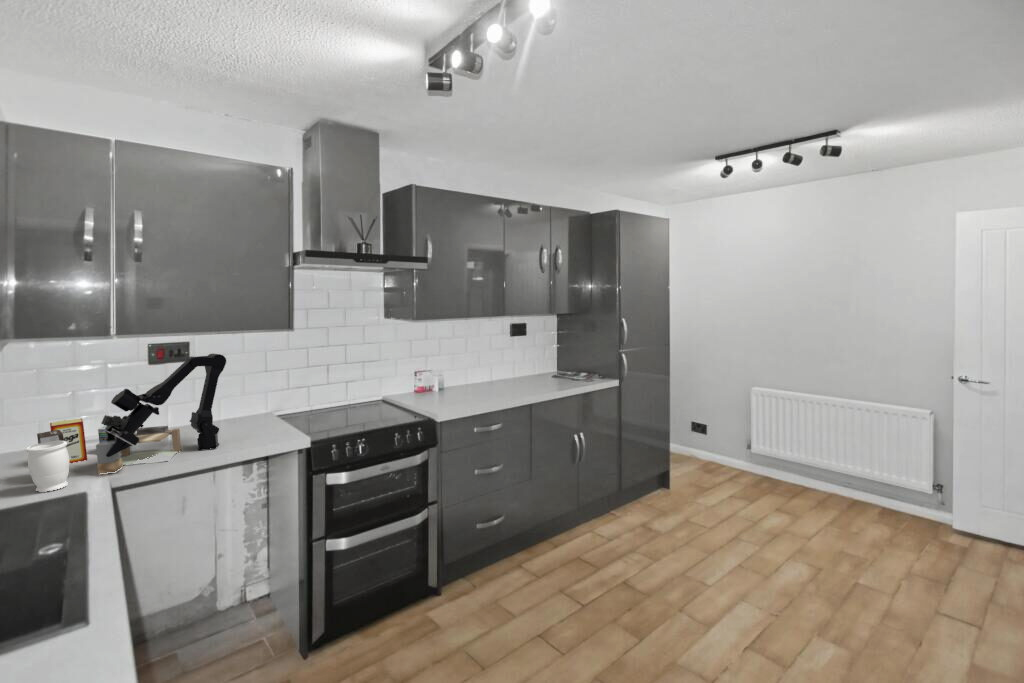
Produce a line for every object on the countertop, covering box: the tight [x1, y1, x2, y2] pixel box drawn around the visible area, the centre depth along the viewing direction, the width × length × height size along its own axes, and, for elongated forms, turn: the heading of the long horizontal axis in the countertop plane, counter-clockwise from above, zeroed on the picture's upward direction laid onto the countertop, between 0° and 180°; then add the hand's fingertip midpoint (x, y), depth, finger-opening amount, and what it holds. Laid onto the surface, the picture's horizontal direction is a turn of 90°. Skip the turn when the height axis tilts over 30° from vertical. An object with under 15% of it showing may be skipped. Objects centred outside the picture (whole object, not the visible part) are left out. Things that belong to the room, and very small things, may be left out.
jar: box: [25, 441, 70, 493], centre depth 175 cm, size 11×10×15 cm
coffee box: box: [36, 430, 64, 444], centre depth 185 cm, size 9×6×16 cm
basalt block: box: [95, 440, 122, 464], centre depth 189 cm, size 5×5×7 cm
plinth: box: [96, 457, 123, 475], centre depth 190 cm, size 5×5×4 cm
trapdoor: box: [131, 425, 172, 445], centre depth 205 cm, size 14×14×3 cm
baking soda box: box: [49, 417, 88, 464], centre depth 202 cm, size 10×6×16 cm
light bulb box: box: [97, 425, 138, 453], centre depth 213 cm, size 11×7×11 cm, turn 92°
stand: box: [120, 428, 182, 465], centre depth 204 cm, size 20×15×9 cm
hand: (103, 454), depth 188 cm, fingers closed on basalt block, 7 cm apart
